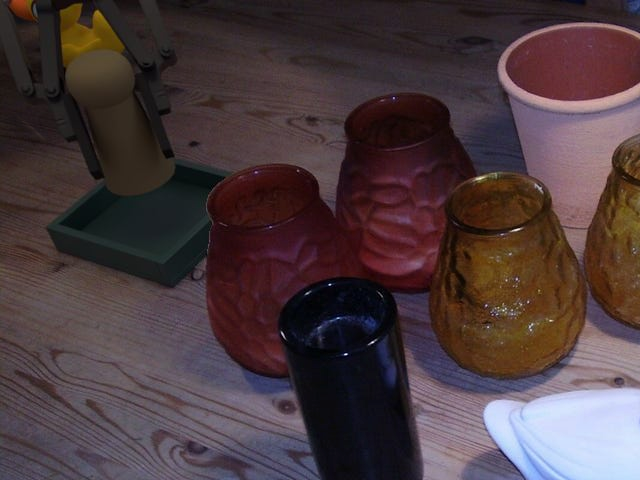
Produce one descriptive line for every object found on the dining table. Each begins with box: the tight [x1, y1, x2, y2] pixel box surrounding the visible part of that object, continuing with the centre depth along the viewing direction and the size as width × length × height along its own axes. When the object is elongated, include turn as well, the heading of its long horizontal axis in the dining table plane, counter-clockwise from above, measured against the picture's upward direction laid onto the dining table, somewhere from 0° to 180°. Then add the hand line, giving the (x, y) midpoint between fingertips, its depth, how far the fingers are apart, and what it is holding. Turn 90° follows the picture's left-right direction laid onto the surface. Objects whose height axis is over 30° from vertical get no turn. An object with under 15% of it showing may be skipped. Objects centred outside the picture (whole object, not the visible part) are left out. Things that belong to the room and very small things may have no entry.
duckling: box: [7, 0, 126, 69], centre depth 109 cm, size 11×5×10 cm, turn 86°
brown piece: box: [64, 49, 176, 196], centre depth 82 cm, size 6×6×11 cm
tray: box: [45, 157, 234, 288], centre depth 89 cm, size 14×13×3 cm
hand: (133, 164), depth 81 cm, fingers closed on brown piece, 5 cm apart
